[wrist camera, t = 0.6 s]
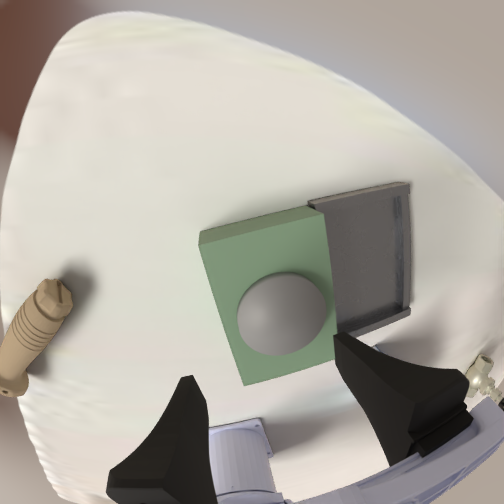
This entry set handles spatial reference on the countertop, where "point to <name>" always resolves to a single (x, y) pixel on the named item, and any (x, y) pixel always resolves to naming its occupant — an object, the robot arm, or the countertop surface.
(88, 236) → the countertop surface
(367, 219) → the gray rectangular tray
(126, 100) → the countertop surface
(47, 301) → the handle
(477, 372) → the valve
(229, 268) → the green block with dome
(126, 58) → the countertop surface
